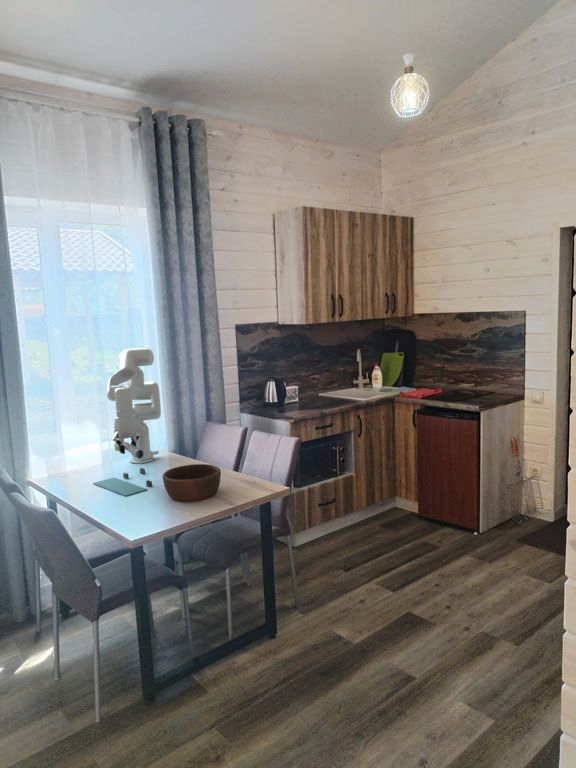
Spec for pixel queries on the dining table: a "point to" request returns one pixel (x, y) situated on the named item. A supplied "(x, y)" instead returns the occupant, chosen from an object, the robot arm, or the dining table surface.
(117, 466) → the dining table surface
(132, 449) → the grey tube
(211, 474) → the wooden bowl
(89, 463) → the dining table surface
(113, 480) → the mat
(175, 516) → the dining table surface
